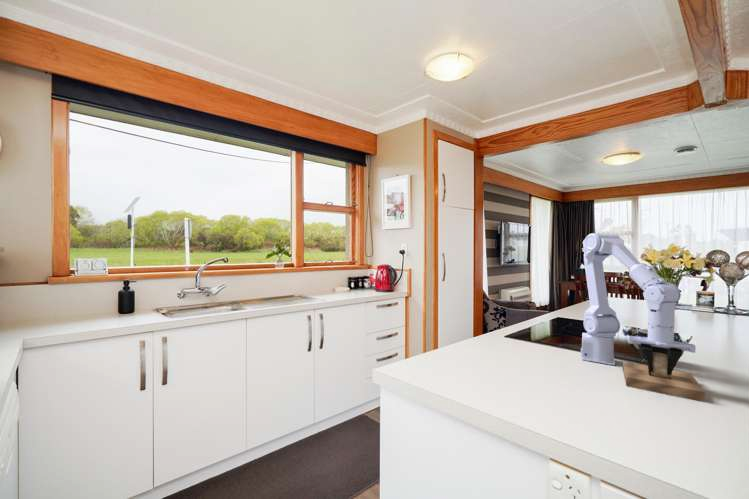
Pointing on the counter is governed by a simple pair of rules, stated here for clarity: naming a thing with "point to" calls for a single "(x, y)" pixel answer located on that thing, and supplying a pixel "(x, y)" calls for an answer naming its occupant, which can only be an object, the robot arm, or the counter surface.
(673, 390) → the board
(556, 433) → the counter surface
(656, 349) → the mug
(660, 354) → the peg
